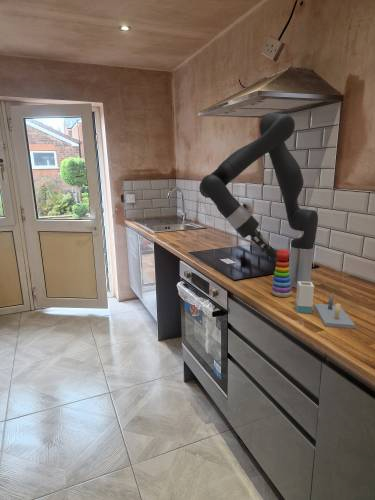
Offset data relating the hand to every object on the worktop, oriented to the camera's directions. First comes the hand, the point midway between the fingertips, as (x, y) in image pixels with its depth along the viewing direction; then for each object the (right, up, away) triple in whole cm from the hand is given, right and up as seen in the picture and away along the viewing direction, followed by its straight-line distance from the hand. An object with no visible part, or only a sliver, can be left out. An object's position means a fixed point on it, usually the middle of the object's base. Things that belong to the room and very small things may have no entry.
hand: (273, 255), depth 113 cm
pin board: (+20, -21, -2) cm, 29 cm away
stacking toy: (+8, -16, +18) cm, 26 cm away
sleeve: (+11, -20, +3) cm, 23 cm away
